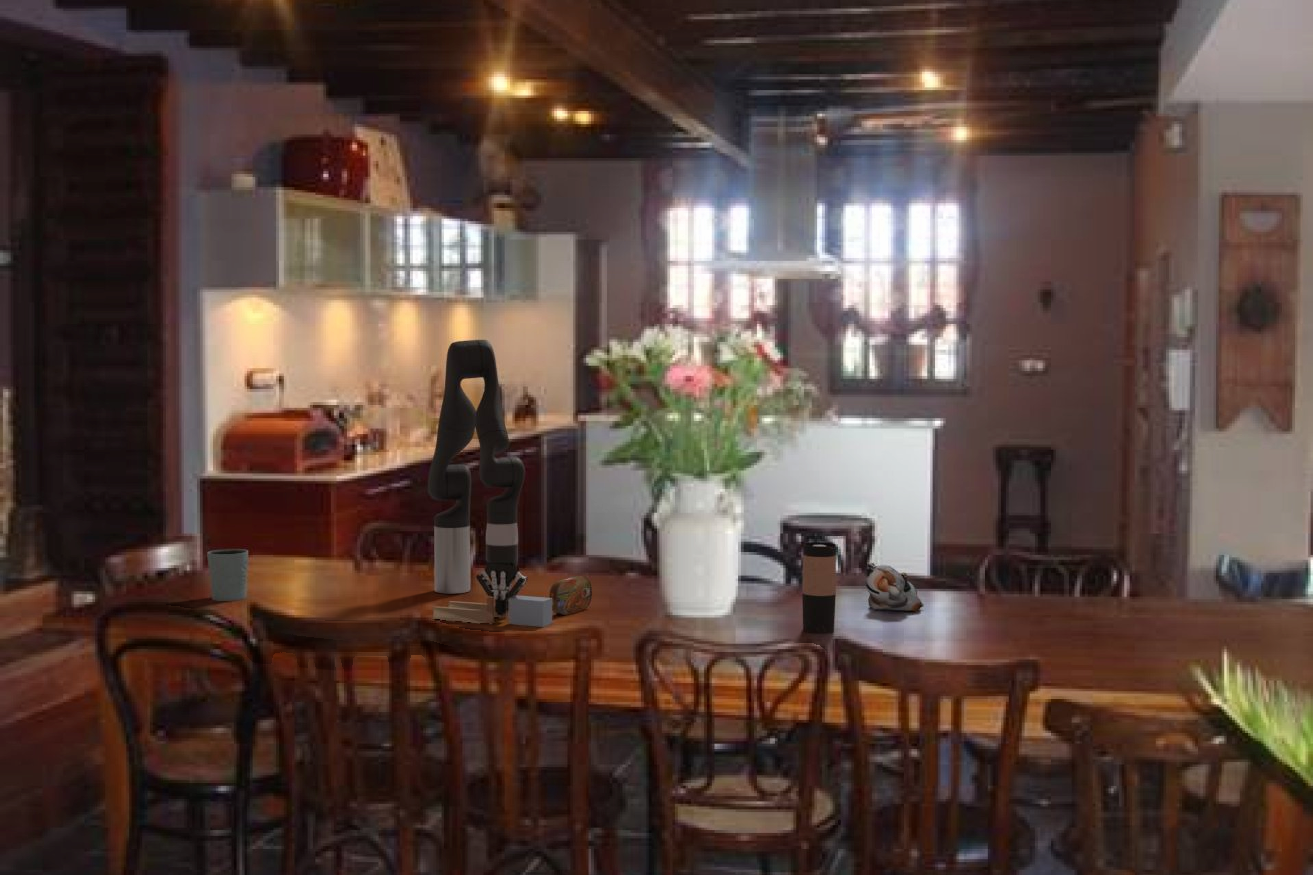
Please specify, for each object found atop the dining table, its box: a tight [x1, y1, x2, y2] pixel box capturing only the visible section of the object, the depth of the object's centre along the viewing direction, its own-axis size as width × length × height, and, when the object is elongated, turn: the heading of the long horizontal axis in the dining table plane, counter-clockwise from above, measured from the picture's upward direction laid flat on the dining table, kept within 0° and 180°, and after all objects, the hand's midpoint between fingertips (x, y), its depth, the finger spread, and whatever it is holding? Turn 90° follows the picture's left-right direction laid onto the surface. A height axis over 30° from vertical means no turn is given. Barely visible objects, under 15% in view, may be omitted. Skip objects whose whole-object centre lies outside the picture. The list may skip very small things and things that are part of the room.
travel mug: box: [801, 541, 837, 634], centre depth 353 cm, size 8×8×20 cm
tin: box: [549, 575, 593, 616], centre depth 374 cm, size 15×3×8 cm, turn 148°
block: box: [508, 594, 553, 628], centre depth 359 cm, size 4×9×6 cm, turn 67°
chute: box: [432, 597, 509, 625], centre depth 364 cm, size 9×15×6 cm, turn 70°
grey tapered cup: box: [206, 548, 249, 602], centre depth 390 cm, size 10×10×12 cm
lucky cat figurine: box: [865, 562, 925, 613], centre depth 379 cm, size 15×12×14 cm
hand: (501, 614), depth 362 cm, fingers closed
